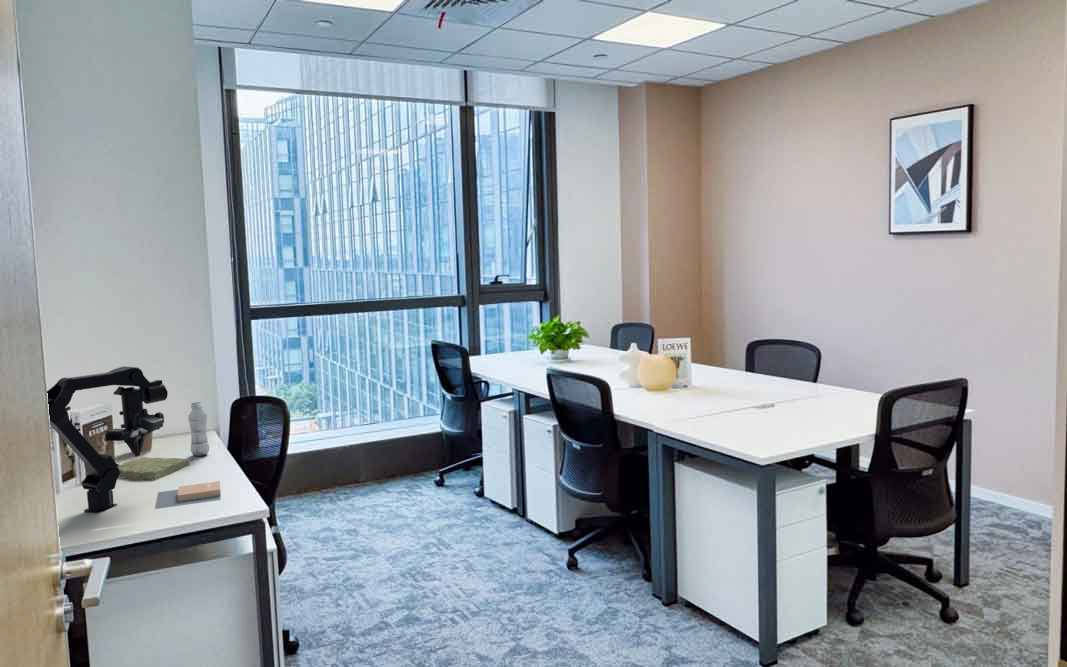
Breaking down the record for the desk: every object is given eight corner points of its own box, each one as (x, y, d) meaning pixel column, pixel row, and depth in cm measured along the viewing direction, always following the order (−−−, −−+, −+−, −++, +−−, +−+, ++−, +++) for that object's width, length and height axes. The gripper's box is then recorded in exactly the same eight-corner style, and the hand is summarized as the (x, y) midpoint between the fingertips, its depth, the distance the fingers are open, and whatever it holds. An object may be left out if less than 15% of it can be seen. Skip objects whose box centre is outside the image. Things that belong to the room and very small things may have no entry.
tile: (177, 495, 237) (220, 489, 241) (178, 486, 246) (219, 481, 250) (178, 501, 237) (220, 495, 241) (179, 492, 246) (220, 487, 251)
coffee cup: (137, 448, 308) (135, 418, 307) (161, 448, 307) (159, 418, 306) (120, 455, 298) (117, 424, 297) (145, 455, 297) (142, 424, 296)
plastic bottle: (203, 452, 298) (199, 400, 296) (213, 454, 294) (209, 402, 292) (187, 456, 293) (183, 403, 291) (197, 458, 289) (193, 405, 287)
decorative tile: (141, 465, 285) (140, 455, 284) (190, 466, 280) (189, 456, 280) (104, 480, 267) (103, 469, 266) (155, 481, 262) (154, 471, 262)
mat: (154, 510, 231) (154, 508, 231) (158, 493, 247) (158, 492, 247) (220, 500, 238) (220, 499, 238) (219, 485, 254) (219, 483, 254)
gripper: (133, 413, 230) (138, 465, 232) (175, 400, 248) (179, 448, 250) (101, 413, 233) (106, 464, 234) (145, 400, 251) (149, 448, 253)
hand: (137, 456), depth 243 cm, fingers closed
